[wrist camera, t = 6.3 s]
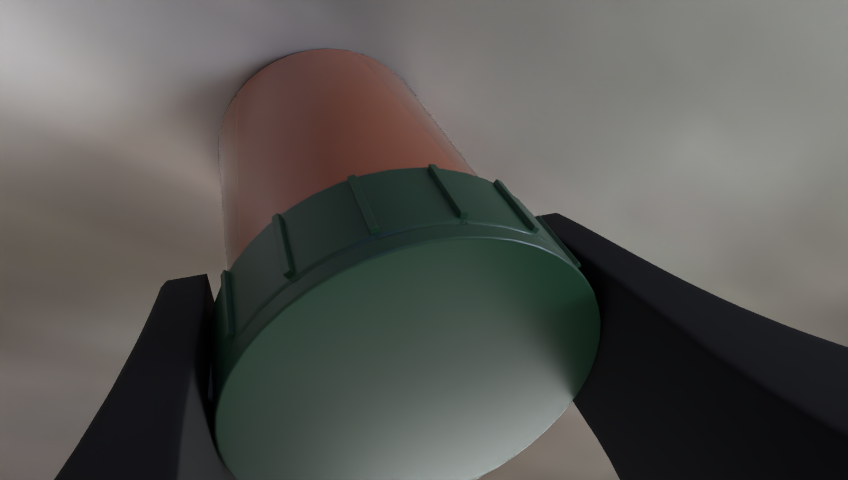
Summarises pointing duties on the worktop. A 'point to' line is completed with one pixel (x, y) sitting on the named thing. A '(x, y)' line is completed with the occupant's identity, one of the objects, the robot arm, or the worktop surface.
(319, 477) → the jar lid
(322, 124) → the jar
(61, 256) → the worktop surface
